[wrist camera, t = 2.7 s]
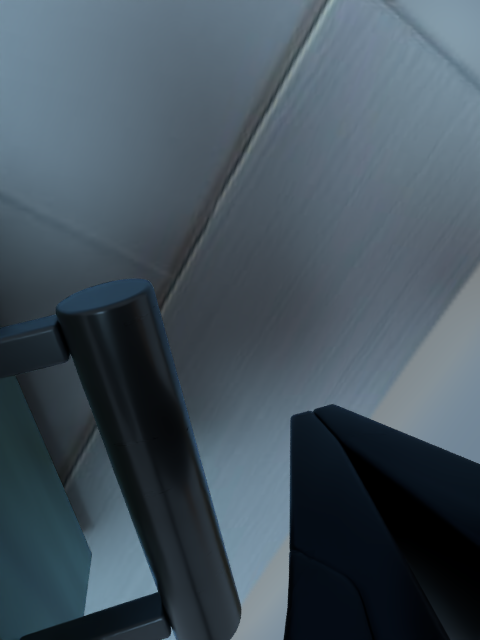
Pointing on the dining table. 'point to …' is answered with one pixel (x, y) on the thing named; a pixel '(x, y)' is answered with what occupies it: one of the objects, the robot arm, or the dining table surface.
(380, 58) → the dining table surface
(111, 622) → the drawer
